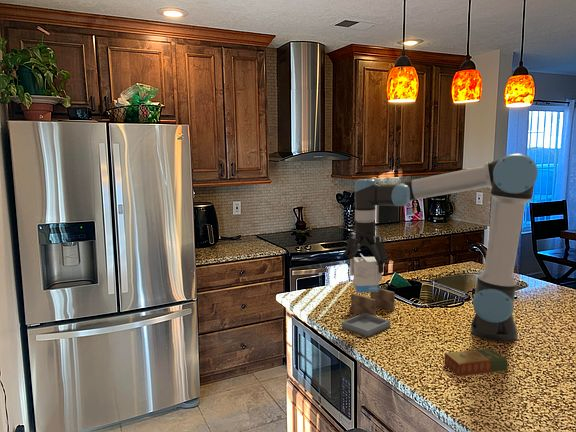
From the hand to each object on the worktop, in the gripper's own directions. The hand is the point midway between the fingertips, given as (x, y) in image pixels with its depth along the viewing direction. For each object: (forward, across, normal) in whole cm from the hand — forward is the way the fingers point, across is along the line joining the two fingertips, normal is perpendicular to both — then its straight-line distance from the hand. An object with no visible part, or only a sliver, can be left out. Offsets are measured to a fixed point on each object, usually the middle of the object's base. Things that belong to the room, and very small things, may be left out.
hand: (365, 278), depth 161 cm
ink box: (+4, 0, 0) cm, 4 cm away
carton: (+20, -43, +1) cm, 48 cm away
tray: (+20, 0, 0) cm, 20 cm away
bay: (+20, +9, -16) cm, 27 cm away
